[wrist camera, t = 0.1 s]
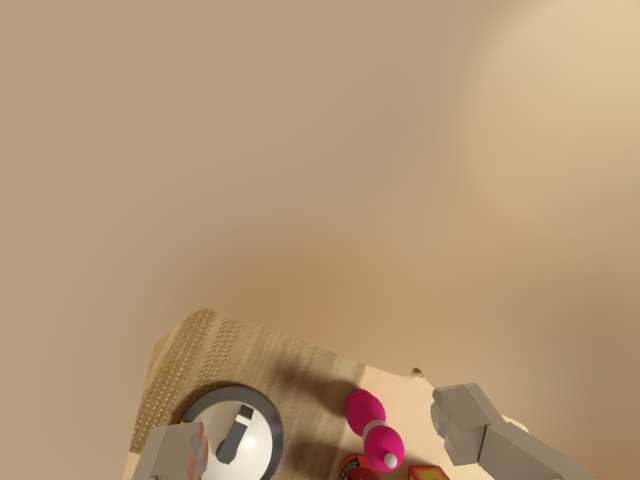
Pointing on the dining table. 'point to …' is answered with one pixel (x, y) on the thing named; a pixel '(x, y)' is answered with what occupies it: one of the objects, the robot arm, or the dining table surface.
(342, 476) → the canned food
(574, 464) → the robot arm
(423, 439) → the dining table surface
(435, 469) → the baking soda box
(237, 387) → the dial housing
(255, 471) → the dial
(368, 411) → the pepper mill
